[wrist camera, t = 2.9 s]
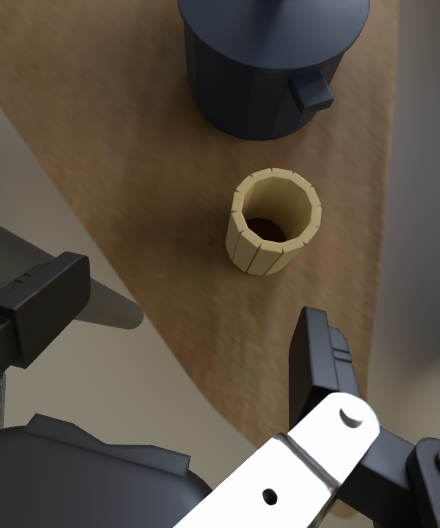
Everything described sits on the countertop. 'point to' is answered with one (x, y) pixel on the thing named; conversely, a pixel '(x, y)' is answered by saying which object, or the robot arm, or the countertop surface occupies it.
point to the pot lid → (275, 31)
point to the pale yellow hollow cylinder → (278, 211)
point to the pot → (255, 95)
